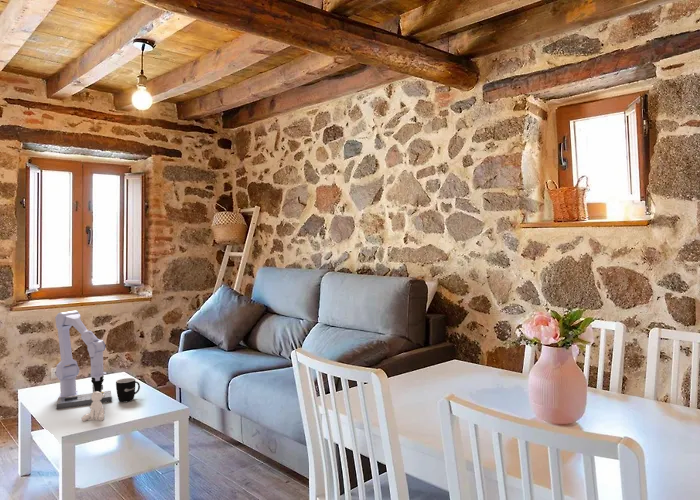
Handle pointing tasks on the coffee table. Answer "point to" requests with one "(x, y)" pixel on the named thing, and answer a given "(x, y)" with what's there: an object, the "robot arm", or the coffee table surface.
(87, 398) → the panel
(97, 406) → the seated beast figurine
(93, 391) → the plug
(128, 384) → the mug
